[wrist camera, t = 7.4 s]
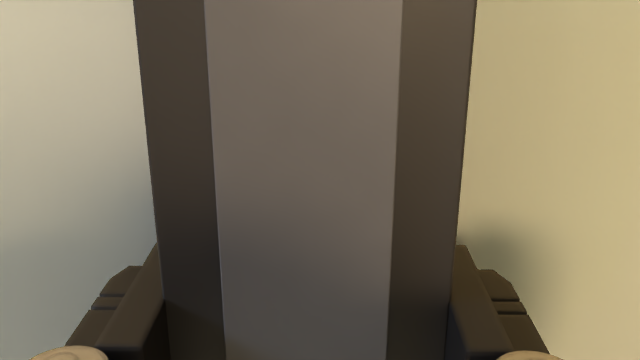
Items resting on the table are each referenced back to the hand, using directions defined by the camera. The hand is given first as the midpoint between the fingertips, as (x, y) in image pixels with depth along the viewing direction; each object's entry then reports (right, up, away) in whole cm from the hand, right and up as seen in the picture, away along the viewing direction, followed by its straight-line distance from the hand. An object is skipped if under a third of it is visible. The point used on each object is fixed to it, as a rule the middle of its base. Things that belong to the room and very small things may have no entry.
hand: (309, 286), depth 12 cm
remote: (0, 0, +1) cm, 1 cm away
